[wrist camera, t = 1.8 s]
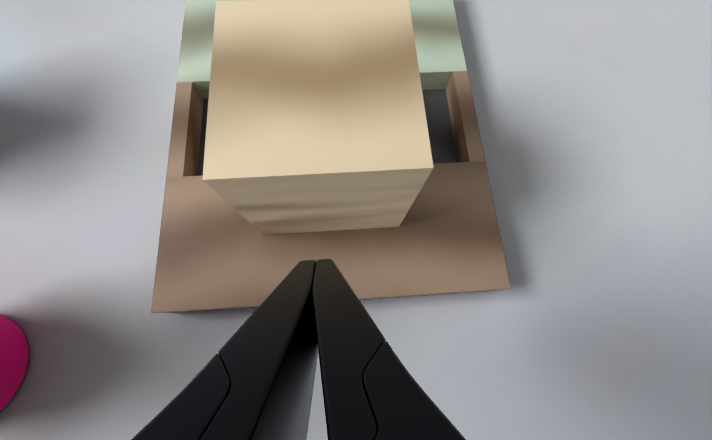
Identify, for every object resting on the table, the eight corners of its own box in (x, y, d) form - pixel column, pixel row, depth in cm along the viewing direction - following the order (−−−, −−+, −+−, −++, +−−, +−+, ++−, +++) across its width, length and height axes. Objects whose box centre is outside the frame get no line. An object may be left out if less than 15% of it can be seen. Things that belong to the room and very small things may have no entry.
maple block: (398, 226, 19) (433, 167, 11) (263, 234, 18) (202, 179, 11) (386, 111, 21) (408, -5, 13) (265, 116, 21) (216, 1, 13)
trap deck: (494, 290, 20) (510, 288, 18) (171, 312, 19) (151, 312, 17) (440, 0, 26) (448, -25, 24) (200, 7, 26) (187, -17, 24)
